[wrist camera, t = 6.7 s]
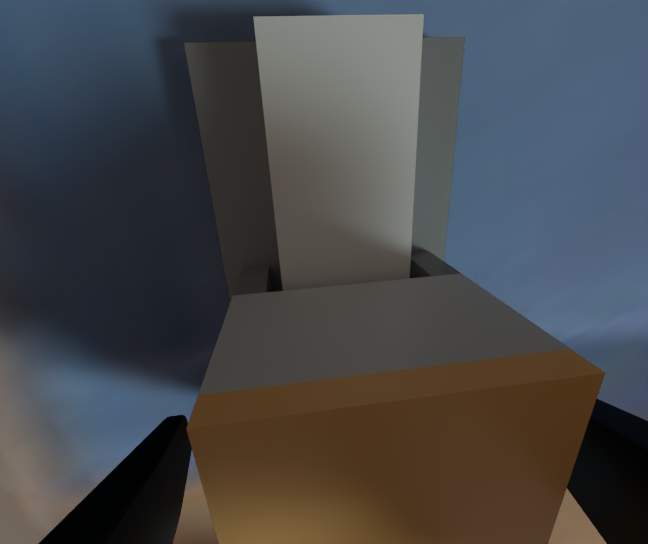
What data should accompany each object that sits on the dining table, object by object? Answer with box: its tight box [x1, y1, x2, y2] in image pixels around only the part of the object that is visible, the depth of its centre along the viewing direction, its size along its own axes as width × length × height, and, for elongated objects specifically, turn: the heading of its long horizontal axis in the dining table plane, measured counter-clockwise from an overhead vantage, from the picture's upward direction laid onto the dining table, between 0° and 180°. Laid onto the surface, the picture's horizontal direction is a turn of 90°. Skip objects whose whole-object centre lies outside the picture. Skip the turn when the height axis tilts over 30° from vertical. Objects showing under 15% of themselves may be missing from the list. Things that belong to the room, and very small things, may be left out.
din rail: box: [184, 14, 465, 302], centre depth 11 cm, size 18×7×2 cm, turn 3°
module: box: [186, 251, 605, 544], centre depth 8 cm, size 6×6×6 cm
